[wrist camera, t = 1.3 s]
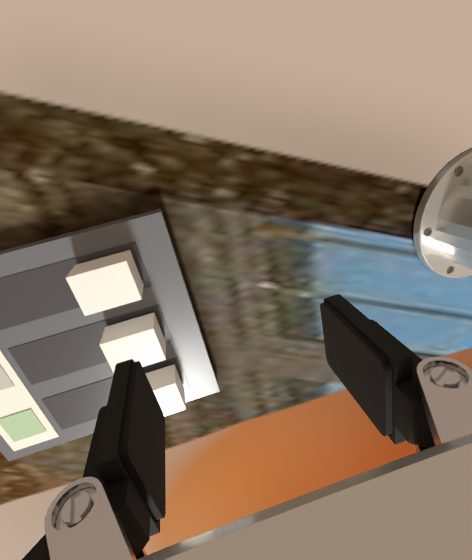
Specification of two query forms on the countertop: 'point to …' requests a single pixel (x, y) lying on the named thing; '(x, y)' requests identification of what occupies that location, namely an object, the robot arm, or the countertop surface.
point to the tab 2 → (134, 341)
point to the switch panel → (84, 331)
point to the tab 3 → (167, 389)
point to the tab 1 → (106, 283)
